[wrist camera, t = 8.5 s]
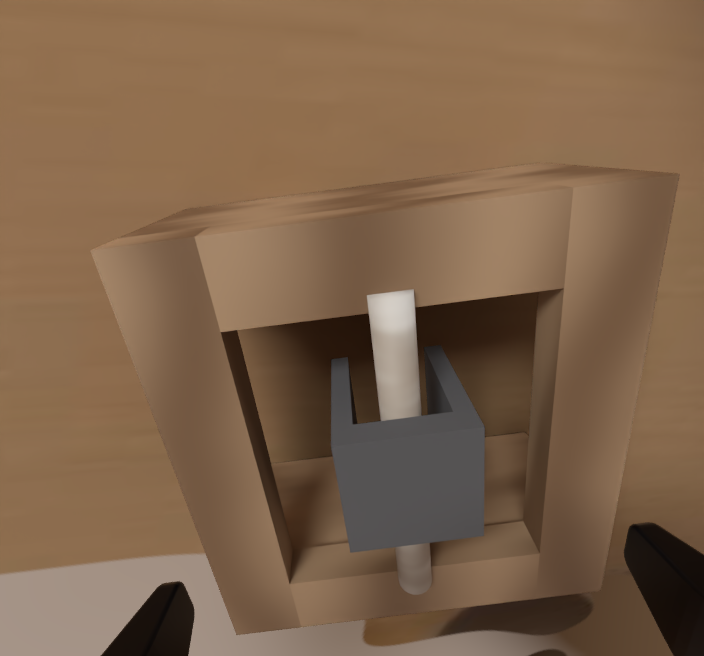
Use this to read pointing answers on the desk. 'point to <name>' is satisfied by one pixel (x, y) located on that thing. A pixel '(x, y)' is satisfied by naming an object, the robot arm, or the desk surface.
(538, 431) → the shelf
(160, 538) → the desk surface
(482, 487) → the grey slotted box
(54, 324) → the desk surface
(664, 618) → the robot arm
